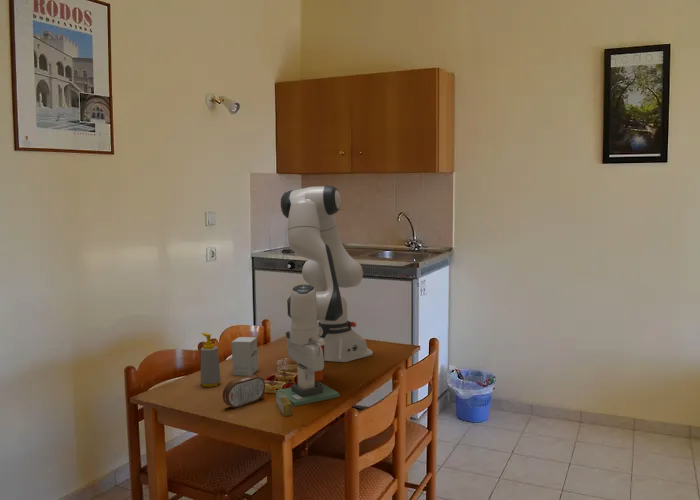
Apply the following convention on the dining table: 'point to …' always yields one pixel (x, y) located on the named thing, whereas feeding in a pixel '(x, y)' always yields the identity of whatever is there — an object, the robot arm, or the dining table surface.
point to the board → (309, 394)
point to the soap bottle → (209, 363)
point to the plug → (304, 378)
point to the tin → (243, 391)
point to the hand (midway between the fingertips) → (305, 377)
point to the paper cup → (319, 374)
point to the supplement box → (244, 356)
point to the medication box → (283, 403)
